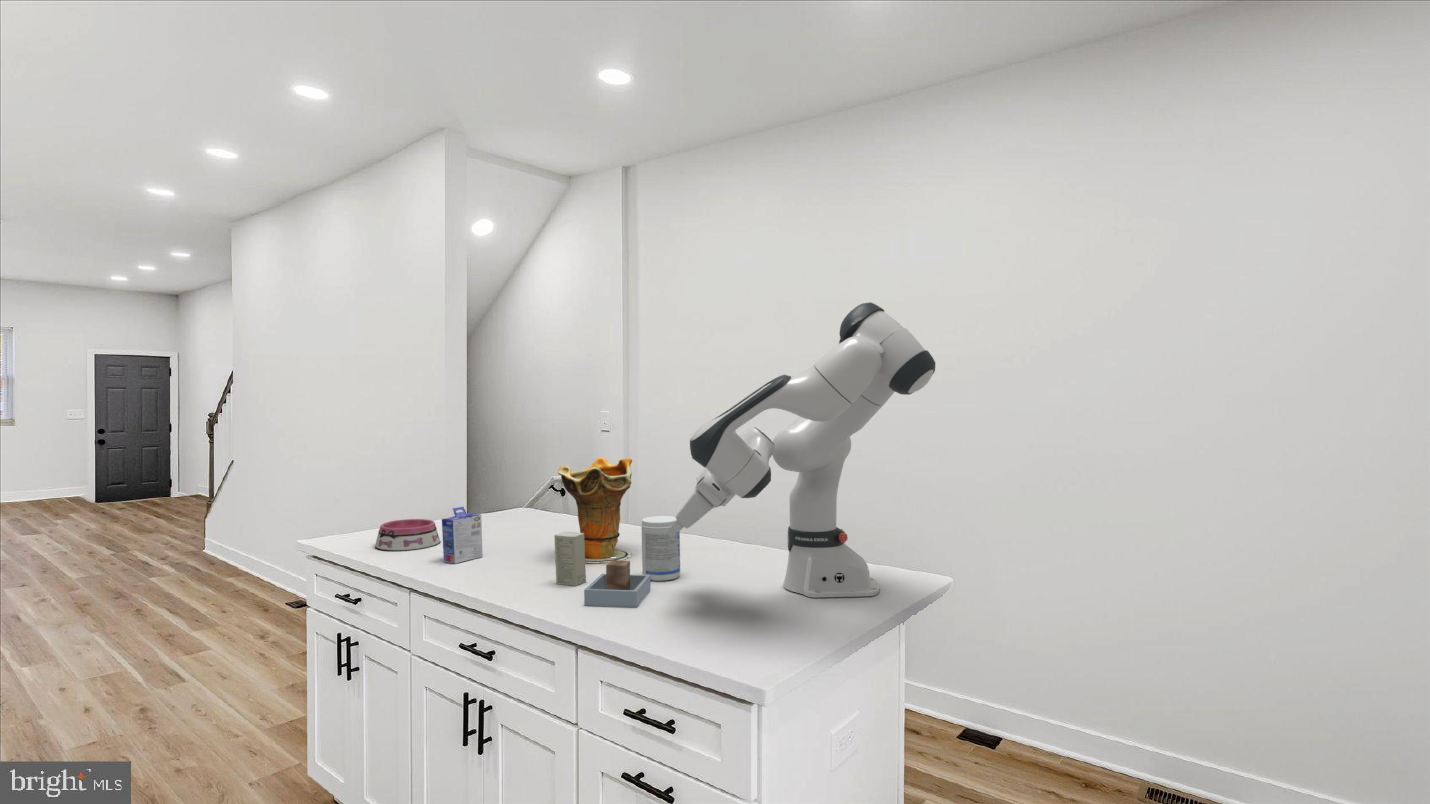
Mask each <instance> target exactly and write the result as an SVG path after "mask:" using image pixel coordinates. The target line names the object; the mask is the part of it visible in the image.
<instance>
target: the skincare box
mask: <svg viewBox="0 0 1430 804" xmlns="http://www.w3.org/2000/svg"><path fill="white" fill-rule="evenodd" d="M553 537H554V555H555V556H554V557H555V558H554V559H555V581H556V584H557V585H564V586H565V585H566V586H575V587H577V586H580V585H581V584H584V583H585V582H586V581H587V574H586V572H587V571H586V562H585V543H584V533H580V532H573V531H572V532H571V531H562V532H559V533H556V534H554V535H553Z"/></svg>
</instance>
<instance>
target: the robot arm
mask: <svg viewBox="0 0 1430 804" xmlns="http://www.w3.org/2000/svg"><path fill="white" fill-rule="evenodd" d="M839 327H840V328H839V340H838V341H839V342H838V344H837V345H836V346H834V347H832V349H830V350H829V351H828V352H827V353H825V354H824V355H823V356H822V357H821V358H819V360H818V361H816V363H814V364H813V365H812V366H811V367H810V368H809V369H807V370H805V371H804V372H802V373H799V374H796V375H787V374H782V375H779V376H777V377H775V378H772V380H770V381H768V382H766V383H765V384H764V385H762V386H761V387H759V388H758V389H756V390H754V391H753V392H752V393H750V394H749V395H747V396H746V397H744V398H742V399H741V400H740V401H739V402H737V403H735V404H734V405H732V407H730V408H729V409H728V410H727V409H726V411H724V412H723V413H721V414H720V415H718V416H716V417H715V418H713V419H712V420H710V421H707V422H706V423H704V424H702V425H701V426H700V427H699V428H698V429H697V430H695V432H694V433H693V434H692V436H691V438H690V439H689V449H690V455H691V459H692V460H694V461H695V462H696V463H698V464H699V465H700V466H702V467H703V468H705V469H704V470H703V471H702V472H701V473H700V474H699V475H698V476H697V477H696V479H695V480H696V486H695V487H694V491H693V493H692V494H691V496H689V498H688V500H687V501H686V502H685V503H684V504H683V506H682V507H681V508H680V510H679V512H677V514H676V515H675V517H676V519H677V521H676V522H675V523H674V524H673V525H672V527H671V528H670V529H669V530H668V531H667V534H668V535H669V536H670V537H671V538H672V537H674V536H675V535H676V534H677V533H678V532H679V531H680V532H681V530H682V529H684V528H685V529H689V528H691V527H692V526H693V525H694V524H696V523H697V522H698V521H699V520H700V519H702V518H703V517H704V516H705V515H707V514H708V513H710V511H711V510H713V509H715V508H716V509H717V508H719V507H726V506H727V504H728V503H729V502H731V500H732V499H734V498H735V496H737V497H739V498H741V499H751V498H752V499H753V498H756V497H758V495H759V494H760V493H761V492H762V491H763V490H764V489H765V488H767V486H768V485H769V484H770V482H771V481H772V471H771V470H772V469H771V466H770V464H769V461H770V459H771V457H773V460H774V462H775V463H776V464H777V466H778V467H780V468H781V469H783V470H786V471H788V472H789V471H790V472H793V473H798V476H797V478H796V482H795V485H794V487H792V489H791V491H790V493H789V526H788V527H787V528H788V529H787V532H786V533H787V536H786V539H787V541H786V542H787V550H788V558H787V559H788V560H787V565H786V572H785V576H784V581H783V584H782V587H783V588H784V589H786V590H787V591H790V592H794V593H798V594H802V595H804V596H805V597H808V598H814V599H815V598H850V597H853V598H854V597H855V598H856V597H857V598H858V597H875V596H876V595H878V594H879V593H880V585H879V582H878V580H876V579H875V578H873V577H871V574H870V569H869V566H868V564H867V562H866V559H864V558H863V557H862V556H861V555H860V554H859V553H857V551H855V550H854V549H852V548H851V547H849V546H848V544H846V542H847V541H848V534H847V533H846V531H844V530H843V529H842V528H839V527H838V526H837V503H838V502H837V501H838V490H839V486H840V485H839V484H840V480H841V477H842V471H843V467H844V463H845V461H846V460H847V457H848V456H849V454H850V452H851V449H852V439H851V437H852V436H853V435H854V434H856V433H857V432H859V431H860V430H862V429H863V428H864V426H865V425H866V424H867V423H868V422H869V421H870V420H871V419H872V418H873V417H874V416H875V415H876V414H877V413H878V412H879V410H880V409H881V408H883V406H884V405H885V404H886V403H887V402H888V401H889V400H890V399H891V397H892V396H893V395H894V393H897V394H899V395H902V396H903V395H904V396H905V395H906V396H908V395H911V394H913V393H914V394H915V392H918V391H920V390H921V389H923V388H924V387H926V385H927V384H928V383H930V380H931V378H932V377H933V375H934V374H935V372H936V364H937V363H936V360H935V359H934V357H933V356H932V355H931V353H930V352H929V351H928V350H927V349H925V348H924V347H923V345H922V344H921V343H920V342H919V340H918V339H917V338H916V337H915V336H914V335H913V334H912V333H911V332H910V331H909V330H908V329H907V328H905V327H903V325H902V324H900V322H898V321H897V320H896V319H895V318H894V317H892V316H891V315H889V314H888V313H886V312H885V309H883V308H882V307H880V306H879V305H878V304H876V303H873V302H865V303H864V302H863V303H860V304H859V305H857V306H855V307H854V308H853V309H852V310H850V311H849V312H848V313H847V314H846V316H845V317H844V318H843V320H842V322H841V324H840V326H839ZM770 409H772V410H773V409H777V410H782V411H786V412H789V413H791V414H793V415H796V416H798V417H799V418H798V419H796V420H795V421H794V422H793V423H792V424H790V425H788V426H787V427H786V428H784V429H782V430H780V431H779V432H778V433H777V434H776V435H775V436H774V438H773V440H772V439H771V438H769V437H768V435H766V433H764V432H762V431H761V430H760V429H759V428H757V427H754V426H750V427H748V428H747V429H746V430H744V431H743V432H742V433H740V434H737V430H738V429H739V428H740V427H743V426H744V425H745V424H747V423H748V422H749V421H750V420H752V419H754V418H755V417H756V416H758V415H759V414H761V413H763V412H765V411H767V410H770Z"/></svg>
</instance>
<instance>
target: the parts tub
mask: <svg viewBox="0 0 1430 804" xmlns="http://www.w3.org/2000/svg"><path fill="white" fill-rule="evenodd" d="M650 589H652V588H651V580H650V575H643V574H630V590H607V589H606V573H601V574H600V575H599V576H598V577H596V578H595V580H593V581H592V582H591V583H590V584H589V585H588V586H587V587H586V588H584V591H583V592H584V593H583V595H584V597H583V601H584V602H583V603H584V606H585V607H586V606H587V607H611V608H612V607H613V608H614V607H615V608H616V607H617V608H638V606H639V605H640V604H641V602H642V601H643V600H644V599H645V598H646V597H647V595H648V594H649V592H650V591H651V590H650Z"/></svg>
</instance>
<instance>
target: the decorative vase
mask: <svg viewBox="0 0 1430 804" xmlns="http://www.w3.org/2000/svg"><path fill="white" fill-rule="evenodd" d="M632 462H633V459H632V458H622V459H620V460H619V461H618V463H617V464H615V465H613V464H611V463H610V462H609V461H607V459H606V458H604V457H602V456H601V457H598V458H596V459H595V460H594V461H593V463H592V464H591V466H590V467H589V466H588V467H587V468H585V469H580V470H573V471H572V470H571V467H570V466H569V465H563V466H560V467H559V468H558V470H557V474H558V475H560V477H561V481H562V484H563V486H564V490H566V492H567V493H568V494H569V495H570V496H571V497H572V498H573V499H574V500H575V503H576V504H575V505H576V507H577V519H578V525H579V533H584V543H585V564H590V563H591V564H599V563H609V562H610V561H611V560H621V561H626V559H628V558H630V557H632V554H631V552H628V551H626V550H621V549H616V546H617V544H618V543H619V540H618V538H619V537H620V532H619V529H620V522H621V503H622V499H623V497H624V495H625V494H626V493H627V491H628V490H629V489H630V488H631V487H632V486H631V485H632V474H633V472H632V470H631V466H632V465H631V464H632ZM611 557H616V558H611ZM627 557H628V558H627Z"/></svg>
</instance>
